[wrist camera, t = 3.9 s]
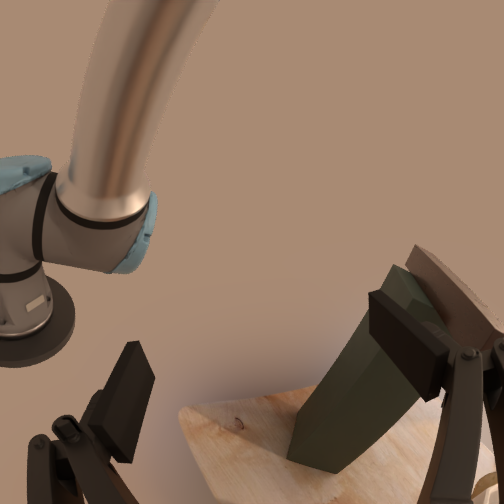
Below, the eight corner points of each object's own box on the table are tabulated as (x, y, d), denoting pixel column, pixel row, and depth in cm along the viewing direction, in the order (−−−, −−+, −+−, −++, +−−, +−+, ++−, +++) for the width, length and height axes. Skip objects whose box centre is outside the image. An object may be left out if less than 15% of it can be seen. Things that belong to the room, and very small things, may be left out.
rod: (468, 367, 13) (495, 328, 12) (404, 264, 34) (415, 244, 33) (493, 377, 13) (518, 341, 12) (422, 273, 33) (432, 253, 32)
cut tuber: (519, 479, 19) (531, 495, 12) (478, 516, 20) (482, 537, 13) (498, 455, 25) (509, 468, 18) (457, 492, 27) (459, 512, 19)
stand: (286, 459, 31) (413, 297, 22) (298, 411, 40) (393, 263, 31) (336, 474, 30) (473, 327, 21) (341, 426, 39) (443, 289, 30)
